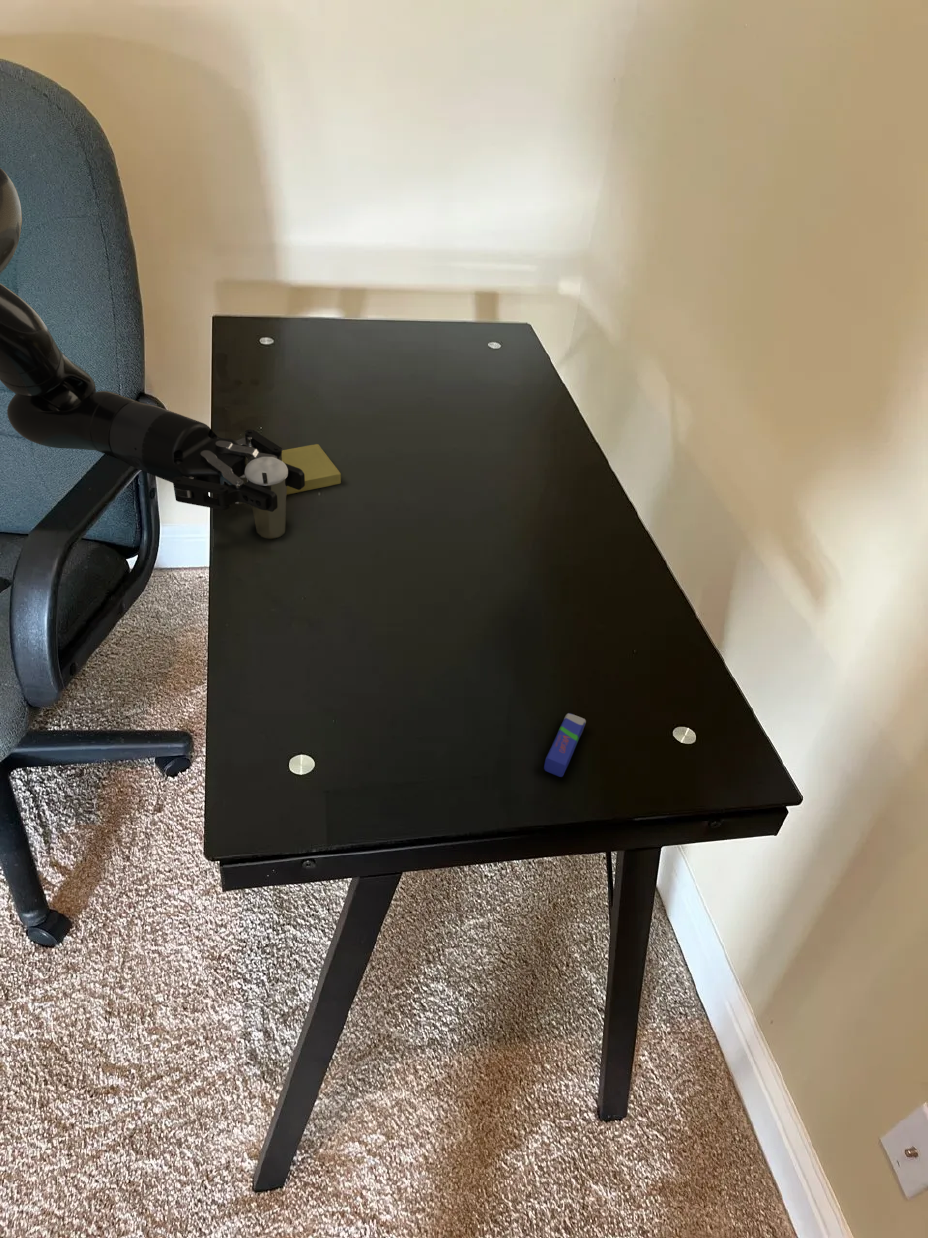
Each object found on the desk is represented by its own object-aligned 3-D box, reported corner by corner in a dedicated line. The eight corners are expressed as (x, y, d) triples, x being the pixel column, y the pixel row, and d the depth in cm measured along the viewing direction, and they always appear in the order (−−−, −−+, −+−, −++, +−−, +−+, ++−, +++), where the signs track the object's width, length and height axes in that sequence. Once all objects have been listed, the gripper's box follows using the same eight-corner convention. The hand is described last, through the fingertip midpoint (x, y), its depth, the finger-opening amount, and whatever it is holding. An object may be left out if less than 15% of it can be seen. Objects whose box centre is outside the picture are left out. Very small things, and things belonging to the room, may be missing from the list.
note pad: (282, 495, 100) (282, 485, 99) (261, 464, 105) (261, 453, 104) (341, 483, 103) (341, 473, 102) (318, 453, 108) (318, 443, 107)
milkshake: (249, 547, 92) (241, 472, 85) (252, 517, 96) (244, 443, 89) (290, 547, 93) (286, 472, 86) (291, 518, 97) (287, 444, 90)
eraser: (583, 733, 77) (587, 719, 75) (562, 779, 72) (566, 765, 71) (563, 725, 77) (567, 711, 76) (541, 771, 73) (545, 756, 71)
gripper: (111, 440, 86) (246, 493, 82) (200, 389, 96) (325, 433, 92) (123, 500, 91) (251, 553, 87) (207, 446, 101) (326, 490, 97)
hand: (288, 491), depth 89 cm, fingers closed on milkshake, 4 cm apart
